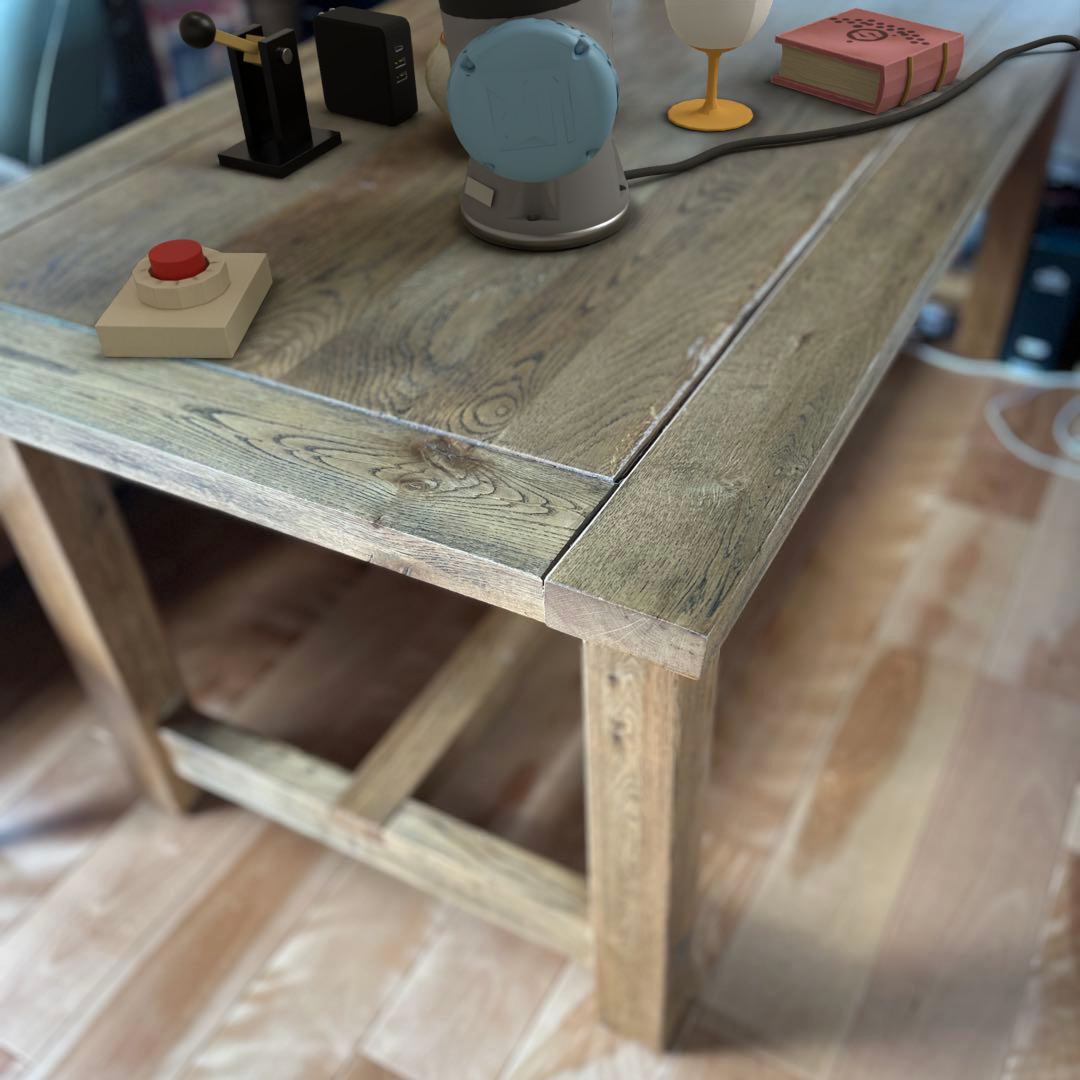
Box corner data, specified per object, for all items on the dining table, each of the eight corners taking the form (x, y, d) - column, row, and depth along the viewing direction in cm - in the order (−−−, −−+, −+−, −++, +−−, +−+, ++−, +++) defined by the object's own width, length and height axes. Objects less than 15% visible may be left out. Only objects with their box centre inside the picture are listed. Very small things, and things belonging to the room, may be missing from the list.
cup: (717, 89, 124) (729, -82, 113) (788, 119, 117) (809, -61, 106) (632, 112, 120) (636, -64, 109) (701, 145, 112) (713, -40, 101)
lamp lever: (196, 46, 98) (200, 7, 97) (169, 42, 99) (172, 3, 98) (283, 75, 108) (287, 40, 107) (257, 70, 109) (261, 36, 109)
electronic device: (395, 127, 118) (383, 28, 112) (325, 110, 123) (310, 14, 116) (419, 115, 121) (410, 17, 114) (350, 99, 125) (337, 4, 119)
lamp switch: (282, 178, 109) (259, 53, 101) (219, 165, 112) (192, 42, 104) (342, 143, 115) (324, 22, 108) (281, 131, 118) (260, 13, 111)
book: (883, 116, 117) (891, 67, 113) (770, 82, 125) (775, 35, 122) (961, 82, 123) (971, 35, 120) (849, 52, 132) (855, 7, 129)
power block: (156, 281, 93) (142, 231, 90) (273, 282, 93) (262, 232, 90) (104, 357, 84) (86, 304, 81) (232, 358, 84) (219, 305, 81)
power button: (163, 259, 87) (158, 238, 86) (213, 259, 87) (208, 238, 86) (146, 283, 84) (140, 262, 83) (197, 284, 84) (192, 262, 83)
